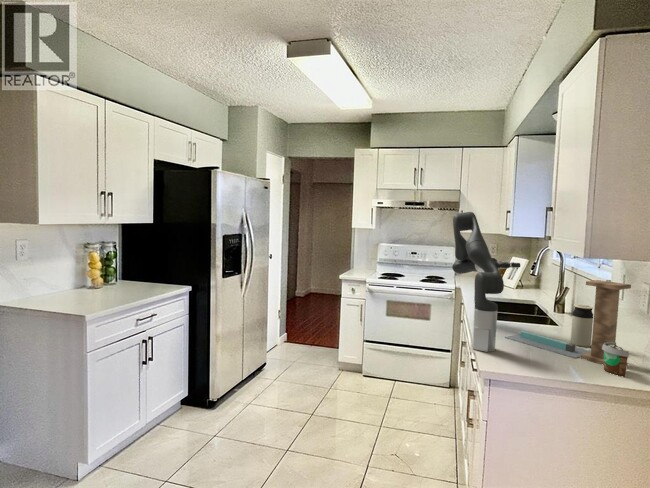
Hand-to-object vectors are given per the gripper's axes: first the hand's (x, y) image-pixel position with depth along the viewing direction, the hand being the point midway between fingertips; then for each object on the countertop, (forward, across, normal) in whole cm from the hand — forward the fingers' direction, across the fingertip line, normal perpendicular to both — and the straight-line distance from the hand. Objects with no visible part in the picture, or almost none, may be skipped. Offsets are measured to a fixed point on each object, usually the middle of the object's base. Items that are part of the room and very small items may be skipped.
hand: (514, 265), depth 198 cm
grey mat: (+15, 0, -36) cm, 39 cm away
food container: (+45, +10, -40) cm, 61 cm away
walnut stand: (+37, 0, -38) cm, 53 cm away
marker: (+14, 0, -36) cm, 38 cm away
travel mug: (+21, -16, -37) cm, 45 cm away
